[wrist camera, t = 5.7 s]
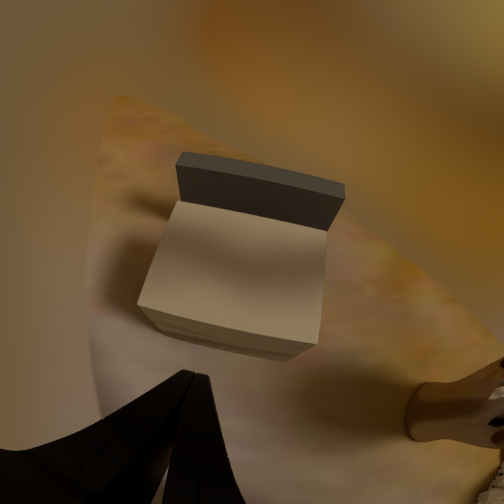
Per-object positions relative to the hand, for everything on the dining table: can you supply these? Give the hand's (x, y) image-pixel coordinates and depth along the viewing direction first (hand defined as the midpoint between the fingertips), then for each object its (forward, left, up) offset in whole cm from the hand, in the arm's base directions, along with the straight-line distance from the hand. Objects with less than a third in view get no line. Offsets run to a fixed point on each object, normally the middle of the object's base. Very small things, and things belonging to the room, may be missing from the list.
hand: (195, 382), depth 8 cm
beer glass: (+4, -19, -13) cm, 24 cm away
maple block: (+6, +1, -13) cm, 14 cm away
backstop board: (+13, +3, -12) cm, 19 cm away
